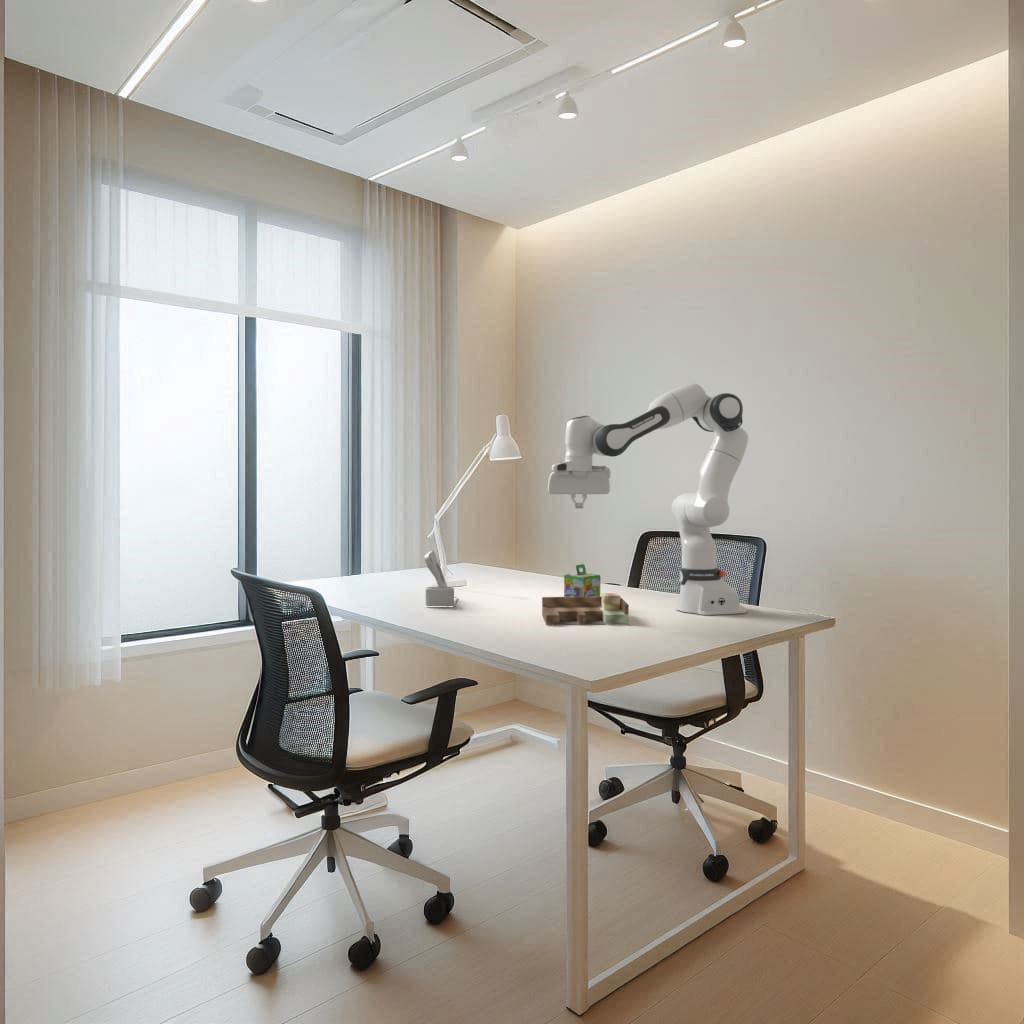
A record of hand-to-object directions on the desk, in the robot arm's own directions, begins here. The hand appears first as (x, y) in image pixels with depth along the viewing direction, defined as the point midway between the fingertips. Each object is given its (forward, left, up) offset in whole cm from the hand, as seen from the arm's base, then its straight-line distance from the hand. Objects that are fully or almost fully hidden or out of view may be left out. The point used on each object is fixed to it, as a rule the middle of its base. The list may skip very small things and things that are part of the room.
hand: (578, 508), depth 253 cm
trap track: (0, +14, -34) cm, 37 cm away
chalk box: (-2, -5, -34) cm, 35 cm away
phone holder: (+46, -18, -34) cm, 60 cm away
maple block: (-9, +11, -31) cm, 34 cm away
